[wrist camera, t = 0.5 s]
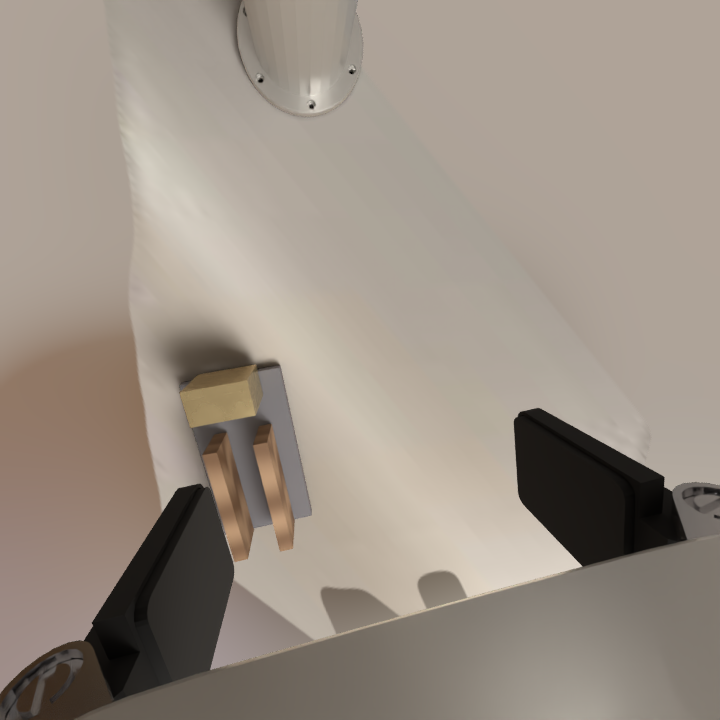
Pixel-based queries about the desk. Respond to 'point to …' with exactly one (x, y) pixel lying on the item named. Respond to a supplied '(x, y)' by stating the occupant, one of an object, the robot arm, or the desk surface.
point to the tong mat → (241, 442)
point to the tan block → (222, 396)
